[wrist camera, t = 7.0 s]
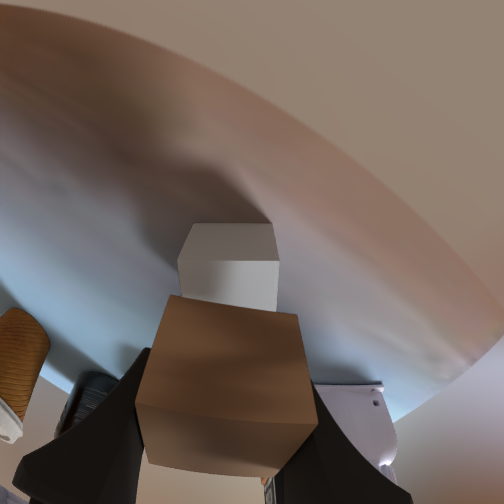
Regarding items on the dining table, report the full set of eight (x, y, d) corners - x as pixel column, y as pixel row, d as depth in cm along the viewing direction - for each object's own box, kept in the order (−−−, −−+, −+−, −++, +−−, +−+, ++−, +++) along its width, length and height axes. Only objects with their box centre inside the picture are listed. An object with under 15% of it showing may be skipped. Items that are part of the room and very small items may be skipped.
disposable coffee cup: (36, 293, 21) (-34, 387, 10) (76, 366, 26) (36, 457, 15) (-15, 294, 22) (-73, 365, 11) (23, 358, 26) (-18, 430, 15)
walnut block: (297, 314, 11) (318, 423, 7) (267, 388, 14) (273, 477, 9) (170, 294, 11) (134, 402, 7) (168, 374, 13) (148, 463, 9)
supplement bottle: (69, 376, 27) (32, 460, 16) (99, 362, 25) (59, 463, 14) (111, 410, 29) (87, 491, 18) (146, 400, 28) (123, 496, 17)
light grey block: (272, 222, 19) (279, 260, 14) (269, 289, 21) (274, 336, 17) (193, 222, 19) (176, 260, 14) (199, 288, 21) (187, 335, 16)
